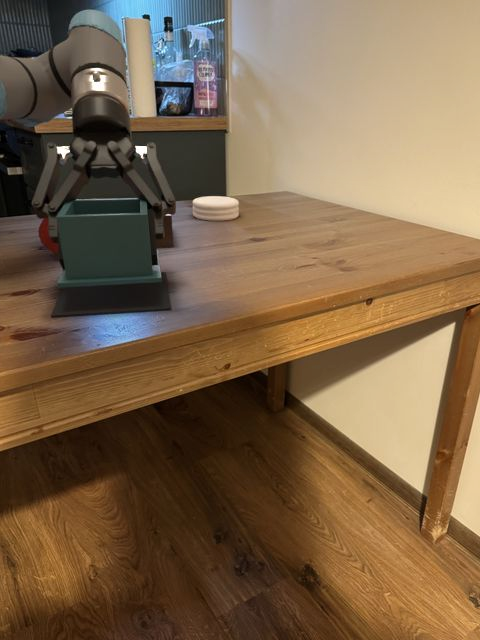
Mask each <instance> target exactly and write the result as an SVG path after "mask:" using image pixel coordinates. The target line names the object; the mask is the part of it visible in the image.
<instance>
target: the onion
mask: <svg viewBox="0 0 480 640" xmlns="http://www.w3.org/2000/svg"><path fill="white" fill-rule="evenodd" d="M48 230H49V229H48V219H47V218H43V219H41V222H40V224H39V226H38V238H39V241H40V242H41V244H42V246H44V247H45V248H46V249H47V250H48V251H49V252H51V253H53V254H55V255H56V256H58V243H53V242H52V240H51V238H50V236H49V231H48Z"/></svg>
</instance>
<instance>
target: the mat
mask: <svg viewBox="0 0 480 640" xmlns="http://www.w3.org/2000/svg"><path fill="white" fill-rule="evenodd" d="M161 278H162V282H154V283H136V284H118V285H100V286H82V287H64V288H60V290H59V293H58V296H57V298H56V301H55V304H54V307H53V309H52V311H51V315H50V318H52V319H56V318H72V317H73V318H74V317H87V316H88V317H90V316H103V315H120V314H122V315H123V314H135V313H136V314H137V313H139V314H140V313H152V312H169V311H172V303H171V297H170V289H169V285H168V284H169V283H168V277H167V272H165V271H161Z"/></svg>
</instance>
